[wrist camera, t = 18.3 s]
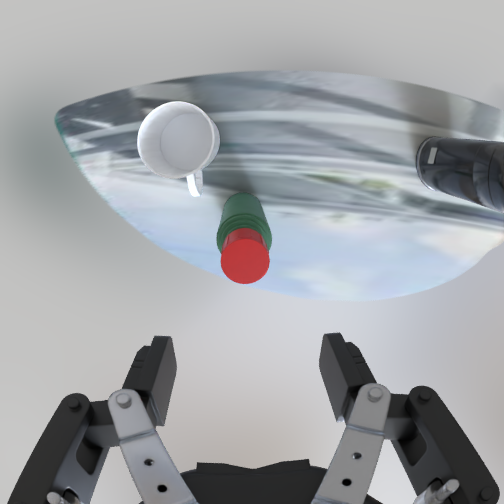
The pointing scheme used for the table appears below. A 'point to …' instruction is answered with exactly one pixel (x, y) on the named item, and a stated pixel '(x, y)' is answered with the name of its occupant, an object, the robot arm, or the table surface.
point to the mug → (178, 142)
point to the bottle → (243, 218)
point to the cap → (244, 256)
